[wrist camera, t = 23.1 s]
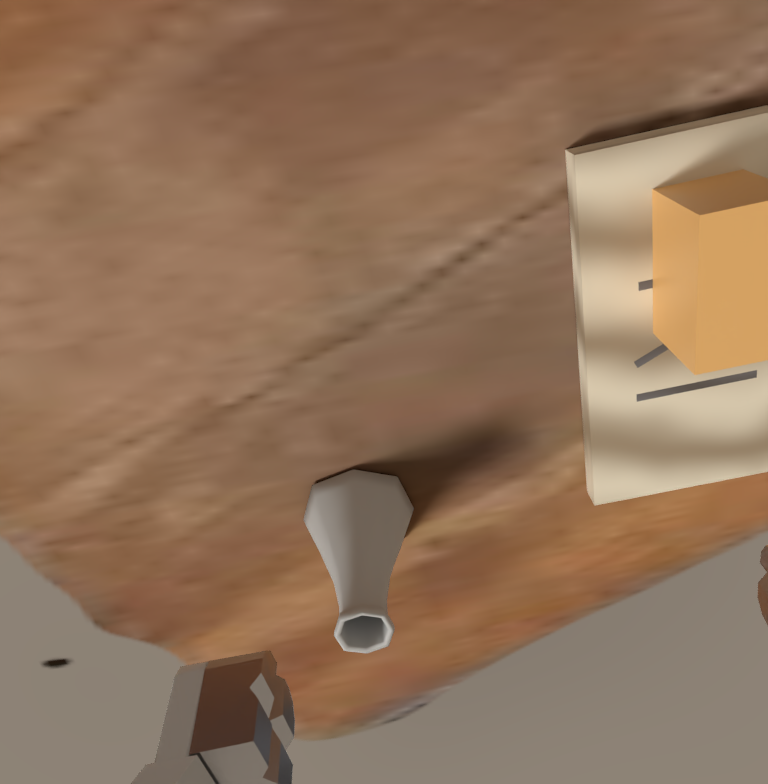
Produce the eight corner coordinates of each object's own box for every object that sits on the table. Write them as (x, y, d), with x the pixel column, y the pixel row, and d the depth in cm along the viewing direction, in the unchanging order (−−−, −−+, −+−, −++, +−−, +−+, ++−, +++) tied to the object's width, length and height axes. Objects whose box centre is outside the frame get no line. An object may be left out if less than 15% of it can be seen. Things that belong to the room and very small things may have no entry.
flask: (410, 461, 42) (429, 576, 34) (416, 547, 46) (435, 671, 37) (296, 472, 42) (285, 591, 34) (311, 557, 46) (305, 685, 37)
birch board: (565, 149, 34) (574, 155, 32) (807, 96, 33) (826, 99, 32) (587, 491, 44) (594, 505, 43) (769, 455, 44) (782, 468, 43)
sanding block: (652, 189, 33) (699, 215, 29) (743, 169, 33) (804, 192, 29) (652, 332, 37) (694, 375, 33) (734, 316, 37) (787, 356, 33)
